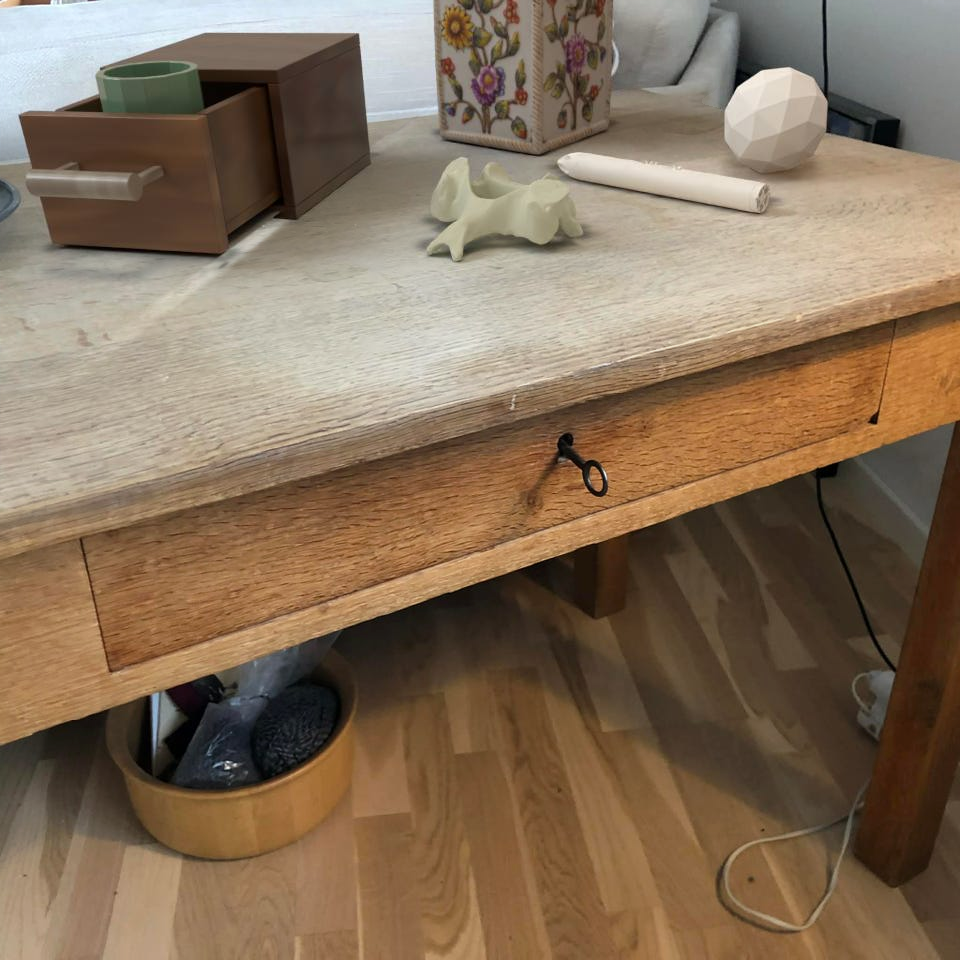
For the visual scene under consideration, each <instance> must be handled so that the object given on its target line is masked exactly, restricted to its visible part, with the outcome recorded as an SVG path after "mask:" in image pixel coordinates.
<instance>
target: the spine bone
mask: <svg viewBox="0 0 960 960" xmlns="http://www.w3.org/2000/svg"><path fill="white" fill-rule="evenodd" d="M470 170H471V165H470V160H469V158H468V157H466V156H464V157H463V156H459V158H456V159H453V160H452V161H451V162H450V163H449V164H448V165H447V166H446V167H445V169H444V171H443V172H442V174H441V177H440V179H439V181H438V183H437V185H436V186H435V188H434V190H433V192H432V197H431V201H430V203H429V213H430V215H431V216H432V217H433V218H436V219H437V220H439V221H440V222H445V223H447V222H448V223H450V222H451V224H449V225H447V227H446V228H445V229H444V230H443V231H442V232H441V233H440V234H439V235H438V236H436V238H434V239H433V240H431V242H430V243H429V244H428V245H427V247H426V253H427V255H429V256H431V255H433V254H434V253H435V252H437V251H438V250H439V249H440V248H442V247H443V246H445V245H447V246H448V247H449V252H450V256H451V258H452V260H453V261H455V262H459V261H460V260H462V258H463V255H464V247H465V246H466V245H467V244H468V243H470V242H472V241H474V240H476V239H478V238H480V237H483V236H487V235H490V234H495V233H498V234H501V235H503V236H508V235H512V236H513V237H515V238H524V239H527V240H529V241H530V242H532V243H534V244H537V245H545V244H547V243H550V241H551V240H552V239H553V238H554V236H555V234H556V233H557V232H558V231H559V227H561V229H562V231H563V232H564V234H565V235H567V236H568V237H569V238H577V237H580V236H582V235H584V230H583V228H582V226H581V225H580V223H579V222H578V221H577V220H576V218H577V213H578V212H577V208H576V205H575V202H574V200H573V198H572V197H571V196H570V194H571V191H572V190H571V186H569V185H568V184H567V183H565V182H563V181H561V180H559V178H558V176H556V174H552V173H551V172H547V173H546V174H545V175H543V176H542V177H541V178H538V179H536V180H533V181H532V182H531V183H529V184H525V183H521V182H515V181H513V180H511V179H510V178H509V177H508V174H507V172H506V170H505V169H504V167H503V165H501V164H500V163H499V162H496V161H489V162H488V163H487V164H486V165H485V166H484V169H483V170H482V171H481V172H480V174H479V175H478V176H477V177H476V179H475V180H474V181H472V180H471V173H470V172H471V171H470Z"/></svg>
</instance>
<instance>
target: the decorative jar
mask: <svg viewBox="0 0 960 960" xmlns="http://www.w3.org/2000/svg"><path fill="white" fill-rule="evenodd" d="M432 2H433V3H432V4H433V7H432V8H433V34H434V36H433V37H434V62H435V81H436V99H437V110H438V113H437V114H438V124H439V125H438V126H439V136H440V138H441V139H442V140H443V139H444V140H448V141H454V142H459V143H466V144H472V145H476V146H477V145H478V146H483V147H489V148H496V149H501V150H507V151H512V152H518V153H524V154H528V155H529V154H530V155H538V156H539V155H542V154H545V153H547V152H549V151H554V150H555V149H558V148H561V147H564V146H566V145H570V144H572V143H575V142H578V141H580V140H582V139H585V138H587V137H590V136H593V135H595V134H599V133H601V132H603V131H606V130H607V129H608V127H609V125H610V117H611V103H612V102H611V98H612V76H613V75H612V74H613V73H612V71H613V70H612V69H613V68H612V67H613V64H612V63H613V62H612V61H613V34H614V33H613V30H614V29H613V28H614V27H613V24H614V21H613V20H614V0H433V1H432Z"/></svg>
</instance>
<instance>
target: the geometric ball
mask: <svg viewBox="0 0 960 960" xmlns="http://www.w3.org/2000/svg"><path fill="white" fill-rule="evenodd" d="M828 104H829V102H828V100H827V97H825V95H824V93H823V92H822V90H821V89H820V87H819V85H818V83H817V82H816V80H815V78H814V77H813V76H810V75H808V74H806V73H803V72H801V71H799V70H798V69H797V70H796V69H794V68H792V67H790V66H788V67H778V68H770V69H762V70H760V71H758V72H757V73H756V74H754V75H752V76H751V77H750V78H749V79H747V80H745V81H744V82H742V83H741V84H740V85H738V86H737V87H736V89H735V91H734V92H733V94H732V96H731V98H730V100H729V102H728V103H727V106H726V108H725V109H724V141H725V142H726V144H727V146H728V148H729V149H730V150H731V152H732V154H733V155H734V156H735V159H736V160H737V161H738V163H740V164H742V165H744V166H746V167H748V168H750V169H752V170H754V171H756V172H757V173H759V174H769V173H776V172H782V171H788V170H790V169H792V168H794V167H796V166H797V165H799V164H802V162H803V163H804V161H806V160H808V159H810V158H812V157H814V155H815V153H816V151H817V149H818V147H819V146H820V144H821V141H822V139H823V138H824V136H825V134H826V132H827V123H828V122H827V121H828V106H829V105H828Z"/></svg>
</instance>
